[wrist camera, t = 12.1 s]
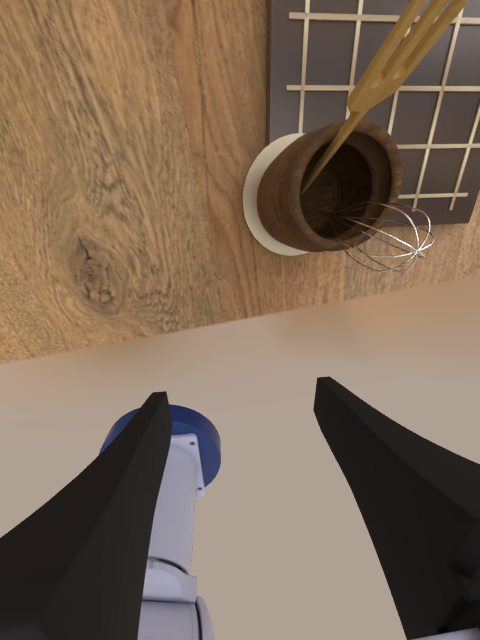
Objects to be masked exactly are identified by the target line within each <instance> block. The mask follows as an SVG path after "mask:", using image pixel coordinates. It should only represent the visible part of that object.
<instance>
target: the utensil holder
mask: <svg viewBox="0 0 480 640" xmlns="http://www.w3.org/2000/svg"><path fill="white" fill-rule="evenodd" d="M448 1H449V0H432V2H431V3H430V4H429V6H428V7H427V8H426V10H425V11H424V13H423V14H422V15H421V17H420V18H419V19H418V21H417V22H416V24H415V25H414V26H413V28H412V29H411V30H410V32H409V33H408V35H407V36H406V37H405V39H404V40H403V41H402V43H401V44H400V46H399V47H398V48H397V46H398V45H399V43H400V42H401V40H402V39H403V37H404V35H405V34H406V32H407V31H408V29H409V28H410V26H411V25H412V23H413V22H414V20H415V19H416V17H417V16H418V14H419V13H420V11H421V10H422V8H423V7H424V5H425V3H426V2H427V0H411V1H410V2H409V4H408V6H407V7H406V9H405V10H404V12H403V13H402V15H401V16H400V18H399V19H398V21H397V23H396V24H395V26H394V27H393V29H392V30H391V32H390V33H389V35H388V36H387V38H386V40H385V41H384V43H383V44H382V46H381V47H380V49H379V50H378V52H377V53H376V55H375V56H374V58H373V60H372V61H371V63H370V64H369V66H368V67H367V69H366V70H365V72H364V73H363V75H362V77H361V78H360V80H359V81H358V83H357V84H356V86H355V87H354V89H353V91H352V92H351V94H350V95H349V97H348V99H347V105H348V109H349V111H353V112H352V113H351V115H350V116H349V118H348V119H346V120H342V121H338V122H335V123H332V124H329V125H327V126H325V127H323V128H319V129H315V130H313V131H310V132H308V133H306V134H304V135H302V136H300V137H299V138H297V139H296V140H295V141H293V142H292V143H291V144H290V145H288V146H287V147H286V148H285V149H284V150H283V151H282V152H281V153H280V154H279V155H278V156H277V157H276V158H275V159H274V160H273V161H272V162H271V164H270V165H269V166H268V168H267V169H266V171H265V172H264V174H263V176H262V179H261V181H260V184H259V187H258V192H257V211H258V215H259V218H260V221H261V223H262V225H263V227H264V228H265V230H266V231H267V232H268V234H269V235H270V236H271V237H273V238H274V239H275V240H277V241H278V242H280V243H282V244H284V245H287V246H289V247H292V248H295V249H298V250H301V251H306V252H323V251H339V250H344V251H345V252H346V250H345V249H349V248H352V249H354V250H356V251H358V252H360V253H362V254H364V255H365V256H367V255H368V256H373V257H383V258H389V257H400V256H405V255H409V254H412V255H413V256H412V257H411V258H409V259H408V260H407V261H406V262H404V263H403V264H401V265H400V266H398V267H396V268H393V269H390V268H388V267H386V266H384V265H382V264H380V263H378V262H376V261H375V260H373V259H371V258H370V257H368V256H367V257H368V258H369V259H371V260H372V261H374V262H376V263H378V264H379V265H381V266H383V267H385V268H387V269H390V270H384V271H377V270H373V269H371V268H369V267H367V266H365V265H363V264H361V263H359V262H358V261H356V260H355V259H353V258H352V257H351V256H350V255H349V254H348V253H347V252H346V254H347V255H348V256H349V257H350V258H351V259H352V260H354V261H355V262H357V263H359V264H360V265H362V266H364V267H366V268H368V269H370V270H372V271H376V272H387V271H391V270H392V271H395V272H405V271H407V270H409V269H411V268H412V267H413V265H414V264H415V262H416V260H417V257H420V258H426V256H425V255H424V254H422V253H421V252H420V251H421V250H424V249H426V248H427V247H429V246H430V245H432V244H433V242H434V240H435V237H434V235H433V234H432V233H431V232H430V220H429V218H428V216H427V215H426V214H425V213H424V212H423V211H421V210H419V209H416V208H413V207H409V206H405V205H401V204H396V203H397V200H398V197H399V194H400V190H401V184H402V161H401V156H400V153H399V150H398V147H397V145H396V143H395V141H394V140H393V138H392V137H391V135H390V134H389V133H388V132H387V131H386V130H385V129H384V128H382V127H381V126H380V125H378V124H376V123H374V122H372V121H369V120H365V119H362V117H363V116H364V115H365V113H366V112H367V111H368V110H369V109H370V108H372V107H373V106H374V105H376V104H378V103H379V102H381V101H382V100H384V99H385V98H387V97H389V96H390V95H392V94H393V93H394V92H395V91H396V90H397V89H398V88H399V87H400V86H401V85H402V83H403V82H404V81H405V80H406V79H407V77H408V76H409V75H410V74H411V72H412V71H413V70H414V69H415V67H416V66H417V65H418V64H419V63H420V61H421V60H422V59H423V58H424V56H425V55H426V54H427V53H428V51H429V50H430V49H431V48H432V46H433V45H434V44H435V43H436V41H437V40H438V39H439V38H440V36H441V35H442V34H443V33H444V31H445V30H446V29H447V28H448V26H449V25H450V24H451V23H452V21H453V20H454V19H455V18H456V16H457V15H458V14H459V13H460V11H461V10H462V9H463V8H464V6H465V5H466V4H467V3H468V1H469V0H452V1H451V2H450V4H449V5H448V6H447V7H446V9H445V10H444V11H443V12H442V14H441V15H440V16H439V17H438V19H437V20H436V21H435V22H434V20H435V19H436V18H437V16H438V15H439V14H440V12H441V11H442V10H443V8H444V7H445V5H446V4H447V3H448ZM433 22H434V24H433V25H432V23H433ZM431 25H432V26H431ZM430 26H431V27H430ZM429 27H430V29H429ZM428 29H429V30H428ZM427 30H428V31H427ZM426 31H427V32H426ZM425 33H426V34H425ZM424 34H425V35H424ZM421 38H422V39H421ZM396 48H397V50H396V51H395V49H396ZM394 51H395V52H394ZM393 52H394V54H393ZM392 54H393V55H392ZM391 55H392V57H391ZM390 57H391V58H390ZM389 58H390V59H389ZM388 60H389V61H388ZM387 61H388V62H387ZM385 64H386V65H385ZM395 205H399V206H403V207H407V208H410V209H414V210H417V211H419V212H421V213H423V214H424V215H425V216H426V218H427V220H428V230H425V229H423V228H420V227H417V226H414V224H413V222H412V221H411V219H410V218H409V217H408V216H407V215H406V214H405V213H404V212H403V211H401V210H400V209H397V208H395ZM394 209H395V210H398V211H400V212H401V213H402V214H404V215H405V216H406V217H407V218H408V220H409V221H410V222H411V224H412V225H411V224H407V223H404V222H400V221H395V220H389V219H388V218H389V217H390V215H391V213H392V212H393V210H394ZM386 221H394V222H398V223H402V224H406V225H409V226H412V227H413V228H414V230H415V233H416V238H417V249H415V248H413V247H412V246H410V245H408V244H407V243H405V242H403V241H401V240H399V239H397V238H395V237H393V236H391V235H389V234H387V233H385V232H383V231H381V230H380V229H381V227H382V226H383V225H384V224H385V223H386ZM416 228H418V229H421V230H424V231H426V232H428V233H427V236H426V238H425V240H424V242H423V243H422V245H421V246H420V248H419V239H418V234H417V230H416ZM378 231H379V232H381V233H384V234H386V235H388V236H390V237H392V238H394V239H396V240H398V241H399V242H401V243H403V244H405V245H407V246H408V247H410V248H412V249H413V250H415V251H414V252H408V251H406V250H403V249H401V248H398V247H396V246H394V245H391V244H389V243H387V242H385V241H382V240H380V239H378V238H376V237H374V236H373V235H374V234H376V233H377V232H378ZM429 233H430V234H431V235H432V237H433V241H432V242H431V243H430V244H429V245H428V246H426V247H424V248H422V249H421V247H422V246H423V245H424V243H425V242H426V240H427V238H428V235H429ZM371 237H373V238H375V239H377V240H379V241H382V242H384V243H386V244H388V245H391V246H393V247H395V248H398V249H400V250H402V251H405V252H407V253H408V254H403V255H397V256H375V255H370V254H366V253H364V252H362V251H361V250H360V249H359V248H358V247H357V246H358V245H360V244H362V243H363V242H365V241H367V240H368V239H370V238H371ZM355 246H356V247H357V248H358V249H359V250H360V251H359V250H357V249H355V248H353V247H355ZM413 253H414V254H413ZM418 253H419V254H421V255H422V256H423V257H421V256H418ZM414 256H416V257H415V260H414V262H413V264H412V266H411V267H410V268H408V269H406V270H404V271H396V270H394V269H397V268H399V267H401V266H402V265H404V264H405V263H407V262H408V261H409V260H410V259H412V258H413V257H414Z"/></svg>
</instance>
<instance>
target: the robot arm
mask: <svg viewBox="0 0 480 640" xmlns="http://www.w3.org/2000/svg"><path fill="white" fill-rule="evenodd" d="M314 413H315V416H316V418H317V421H318V424H319V426H320V429H321V431H322V433H323V435H324V437H325V439H326V441H327V443H328V445H329V447H330V449H331V451H332V453H333V454H334V456H335V458H336V460H337V462H338V464H339V466H340V468H341V470H342V472H343V474H344V475H345V477H346V479H347V482H348V484H349V486H350V488H351V490H352V492H353V495H354V497H355V500H356V502H357V504H358V507H359V509H360V512H361V514H362V516H363V519H364V522H365V524H366V526H367V529H368V532H369V534H370V537H371V539H372V542H373V545H374V547H375V550H376V553H377V555H378V558H379V560H380V563H381V566H382V569H383V571H384V574H385V577H386V579H387V583H388V585H389V588H390V591H391V594H392V597H393V600H394V603H395V606H396V609H397V611H398V614H399V617H400V620H401V623H402V626H403V629H404V632H405V635H406V638H407V640H480V464H478V463H475V462H473V461H470V460H468V459H466V458H464V457H462V456H460V455H457V454H455V453H453V452H451V451H449V450H447V449H445V448H443V447H441V446H439V445H436V444H435V443H433V442H431V441H429V440H427V439H425V438H423V437H421V436H419V435H417V434H416V433H414V432H412V431H410V430H408V429H407V428H405V427H403V426H401V425H400V424H398V423H396V422H395V421H393V420H391V419H390V418H388V417H387V416H385V415H384V414H382V413H381V412H379V411H378V410H376V409H375V408H373V407H371V406H370V405H368V404H367V403H366V402H364V401H363V400H361V399H360V398H359V397H357V396H356V395H354V394H353V393H352V392H350V391H349V390H348V389H346V388H345V387H344V386H342V385H341V384H339V383H338V382H336V381H335V380H334V379H332V378H331V377H320V378H317V385H316V394H315V401H314ZM172 427H173V423H172V418H171V413H170V408H169V403H168V398H167V393H166V391H165V392H154V393H152V394H151V395H150V396H149V398H148V399H147V400H146V401H145V403H144V404H143V405H142V406H141V408H140V409H139V410H138V411H137V413H136V414H135V415H134V416H133V418H132V419H131V420H130V421H129V422H128V424H127V425H126V426H125V427H124V428H123V430H122V431H121V432H120V433H119V434H118V435H117V436H116V437H115V439H114V440H113V441H112V442H111V443H110V444H109V445H108V446H107V447H106V448H105V449H104V450H103V452H102V453H101V454H100V455H99V456H98V457H97V458H96V459H95V460H94V461H93V462H92V463H91V464H90V465H89V466H87V468H85V469H84V470H83V471H82V472H81V473H80V474H79V475H78V476H77V477H76V478H75V479H73V480H72V481H71V482H70V483H69V484H68V485H66V486H65V487H64V488H63V489H62V490H61V491H59V492H58V493H57V494H56V495H55V496H54V497H52V498H51V499H50V500H49V501H48V502H47V503H45V504H44V505H43V506H41V507H40V508H39V509H38V510H36V511H35V512H34V513H33V514H32V515H30V516H29V517H28V518H26V519H25V520H24V521H22V522H21V523H20V524H18V525H17V526H16V527H15V528H13V529H12V530H11V531H9V532H8V533H6V534H5V535H4V536H2V537H1V538H0V640H214V633H213V626H212V621H211V617H210V615H209V612H208V609H207V606H206V603H205V601H204V600H203V598H202V597H200V596H196V587H197V577H196V576H191V575H189V571H190V567H191V561H192V547H193V532H194V518H195V503H196V498H198V497H203V496H204V495H205V486H204V479H203V473H202V466H201V459H200V452H199V446H198V439H197V435H196V434H194V433H190V434H180V435H172Z"/></svg>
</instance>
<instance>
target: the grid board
mask: <svg viewBox="0 0 480 640" xmlns="http://www.w3.org/2000/svg"><path fill="white" fill-rule="evenodd" d="M410 1H411V0H267V93H266V148H264V149H263V151H262V152H261V153H260V154H259V155H258V156H257V158H256V159H255V160H254V162H253V164H252V166H251V167H250V169H249V172H248V174H247V177H246V180H245V184H244V189H243V211H244V216H245V219H246V222H247V225H248V227H249V229H250V231H251V233H252V234H253V236H254V237H255V238H256V239H257V241H258V242H259V243H260V244H262V245H263V246H264V247H266V248H267V249H269V250H270V251H273V252H275V253H278V254H281V255H289V256H294V255H301V254H305V253H308V252H306V251H301V250H298V249H295V248H292V247H289V246H287V245H284V244H282V243H280V242H278V241H277V240H275V239H274V238H273V237H271V236H270V235H269V234H268V232H267V231H266V230H265V228H264V227H263V225H262V223H261V221H260V218H259V215H258V211H257V192H258V187H259V184H260V181H261V179H262V176H263V174H264V172H265V171H266V169H267V168H268V166H269V165H270V164H271V162H272V161H273V160H274V159H275V158H276V157H277V156H278V155H279V154H280V153H281V152H282V151H283V150H284V149H285V148H286V147H287V146H288V145H290V144H291V143H292V142H293V141H295V140H296V139H297V138H299V137H300V136H302V135H304V134H306V133H308V132H310V131H313V130H315V129H319V128H323V127H325V126H327V125H329V124H332V123H335V122H338V121H342V120H346V119H348V118H349V116H350V115H351V113H352V112H353V111H349V109H348V105H347V99H348V97H349V95H350V94H351V92H352V91H353V89H354V87H355V86H356V84H357V83H358V81H359V80H360V78H361V77H362V75H363V73H364V72H365V70H366V69H367V67H368V66H369V64H370V63H371V61H372V60H373V58H374V56H375V55H376V53H377V52H378V50H379V49H380V47H381V46H382V44H383V43H384V41H385V40H386V38H387V36H388V35H389V33H390V32H391V30H392V29H393V27H394V26H395V24H396V23H397V21H398V19H399V18H400V16H401V15H402V13H403V12H404V10H405V9H406V7H407V6H408V4H409V2H410ZM451 1H452V0H449V1H448V3H447V4H446V5H445V7H444V8H443V10H442V11H441V12H440V14H439V15H438V16H437V18H436V19H435V20H434V22H435V21H436V20H437V19H438V17H439V16H440V15H441V14H442V12H443V11H444V10H445V9H446V7H447V6H448V5H449V4H450V2H451ZM431 2H432V0H427V2H426V3H425V5H424V7H423V8H422V10H421V11H420V13H419V14H418V16H417V17H416V19H415V20H414V22H413V23H412V25H411V26H410V28H409V29H408V31H407V32H406V34H405V35H404V37H403V39H402V40H401V42H400V43H399V45H398V46H397V48H398V47H399V46H400V44H401V43H402V41H403V40H404V39H405V37H406V36H407V35H408V33H409V32H410V30H411V29H412V28H413V26H414V25H415V24H416V22H417V21H418V19H419V18H420V17H421V15H422V14H423V13H424V11H425V10H426V8H427V7H428V6H429V4H430V3H431ZM434 22H433V23H432V25H433V24H434ZM432 25H431V26H432ZM431 26H430V27H431ZM430 27H429V29H430ZM429 29H428V30H429ZM428 30H427V31H428ZM427 31H426V32H427ZM425 34H426V33H425ZM425 34H424V35H425ZM421 39H422V38H421ZM397 48H396V49H395V51H396V50H397ZM395 51H394V52H395ZM394 52H393V54H394ZM393 54H392V55H393ZM392 55H391V57H392ZM391 57H390V58H391ZM390 58H389V59H390ZM388 61H389V60H388ZM388 61H387V62H388ZM385 65H386V64H385ZM362 119H365V120H369V121H372V122H374V123H376V124H378V125H380V126H381V127H382V128H384V129H385V130H386V131H387V132H388V133H389V134H390V135H391V137H392V138H393V140H394V141H395V143H396V145H397V147H398V150H399V153H400V156H401V161H402V184H401V190H400V194H399V197H398V200H397V203H396V204H401V205H405V206H409V207H413V208H416V209H419V210H421V211H423V212H424V213H425V214H426V215H427V216H428V218H429V220H430V225H435V224H459V223H469V221H470V218H471V215H472V212H473V209H474V206H475V203H476V199H477V196H478V193H479V190H480V0H469V1H468V3H467V4H466V5H465V6H464V8H463V9H462V10H461V11H460V13H459V14H458V15H457V16H456V18H455V19H454V20H453V21H452V23H451V24H450V25H449V26H448V28H447V29H446V30H445V31H444V33H443V34H442V35H441V36H440V38H439V39H438V40H437V41H436V43H435V44H434V45H433V46H432V48H431V49H430V50H429V51H428V53H427V54H426V55H425V56H424V58H423V59H422V60H421V61H420V63H419V64H418V65H417V66H416V67H415V69H414V70H413V71H412V72H411V74H410V75H409V76H408V77H407V79H406V80H405V81H404V82H403V83H402V85H401V86H400V87H399V88H398V89H397V90H396V91H395V92H394V93H393V94H392V95H390V96H389V97H387V98H385V99H384V100H382V101H381V102H379V103H378V104H376V105H374V106H373V107H372V108H370V109H369V110H368V111H367V112H366V113H365V115H364V116H363V117H362ZM395 208H397V209H400V210H401V211H403V212H404V213H405V214H406V215H407V216H408V217H409V218H410V219H411V221H412V222H413V224H414V225H428V220H427V218H426V216H425V215H424V214H423V213H421V212H419V211H417V210H414V209H410V208H407V207H403V206H399V205H395ZM388 219H389V220H395V221H400V222H404V223H407V224H411V222H410V221H409V220H408V218H407V217H406V216H405V215H404V214H402V213H401V212H400V211H398V210H395V209H394V210H393V212H392V213H391V215H390V217H389V218H388ZM411 225H412V224H411ZM387 226H409V225H406V224H402V223H398V222H394V221H386V223H385V224H384V225H383V226H382V227H387Z"/></svg>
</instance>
